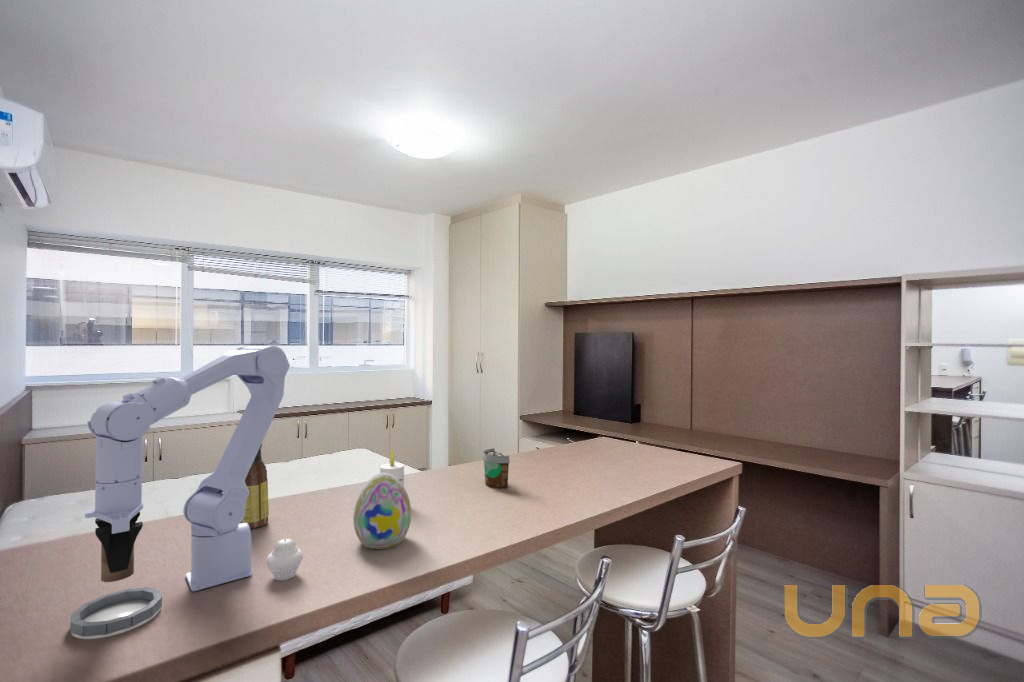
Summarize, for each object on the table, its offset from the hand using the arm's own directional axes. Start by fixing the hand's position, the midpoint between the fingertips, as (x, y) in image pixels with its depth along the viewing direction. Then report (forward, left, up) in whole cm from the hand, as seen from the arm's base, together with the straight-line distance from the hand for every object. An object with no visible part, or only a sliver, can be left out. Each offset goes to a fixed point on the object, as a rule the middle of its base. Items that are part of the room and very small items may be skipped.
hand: (118, 565), depth 76 cm
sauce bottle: (-26, -30, -8) cm, 40 cm away
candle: (-58, -22, -8) cm, 62 cm away
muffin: (-24, +2, -8) cm, 26 cm away
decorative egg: (-45, -1, -8) cm, 46 cm away
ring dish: (0, 0, -8) cm, 8 cm away
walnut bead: (0, 0, -2) cm, 2 cm away
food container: (-90, -19, -8) cm, 92 cm away
